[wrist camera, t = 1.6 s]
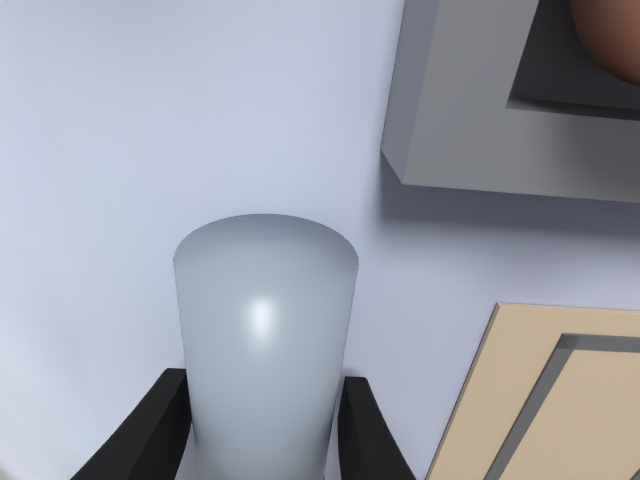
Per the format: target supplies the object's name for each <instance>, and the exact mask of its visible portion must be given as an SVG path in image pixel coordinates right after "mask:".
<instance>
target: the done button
mask: <svg viewBox="0 0 640 480" xmlns="http://www.w3.org/2000/svg"><path fill="white" fill-rule="evenodd" d="M569 2H570V8H571V13H572V18H573V21H574V24H575V27H576V30H577V33H578V35H579V37H580V39H581V41H582V43H583V45H584V47H585V49H586V50H587V52H588V53H589V54H590V55H591V57H592V58H593V59H594V61H595V62H596V63H597V64H598V65H599V66H601V67H602V68H603V69H604V70H605V71H606V72H607V73H609V74H611V75H612V76H614V77H616V78H617V79H619V80H621V81H623V82H626V83H629V84H632V85H634V86H639V87H640V0H569Z"/></svg>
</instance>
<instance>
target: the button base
mask: <svg viewBox="0 0 640 480" xmlns="http://www.w3.org/2000/svg"><path fill="white" fill-rule="evenodd" d="M380 149H381V151H382V152H383V154H384V156H385V157H386V159H387V161H388V162H389V164H390V165H391V167H392V169H393V170H394V172H395V174H396V175H397V177H398V179H399V180H400V182H401V183H402V184H405V185H417V186H430V187H443V188H455V189H468V190H480V191H493V192H506V193H518V194H531V195H543V196H556V197H568V198H581V199H594V200H606V201H619V202H631V203H640V87H639V86H634V85H632V84H629V83H626V82H623V81H621V80H619V79H617V78H616V77H614V76H612V75H611V74H609V73H607V72H606V71H605V70H604V69H603V68H602V67H601V66H599V65H598V64H597V63H596V62H595V61H594V59H593V58H592V57H591V55H590V54H589V53H588V52H587V50H586V49H585V47H584V45H583V43H582V41H581V39H580V37H579V35H578V33H577V30H576V27H575V24H574V21H573V18H572V13H571V8H570V2H569V0H406V1H405V7H404V13H403V19H402V25H401V31H400V36H399V42H398V48H397V54H396V60H395V66H394V72H393V78H392V84H391V89H390V95H389V101H388V107H387V113H386V119H385V125H384V131H383V137H382V142H381V148H380Z"/></svg>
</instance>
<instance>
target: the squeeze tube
mask: <svg viewBox="0 0 640 480" xmlns="http://www.w3.org/2000/svg"><path fill="white" fill-rule="evenodd" d="M173 262H174V273H175V281H176V290H177V298H178V306H179V314H180V323H181V331H182V339H183V347H184V356H185V364H186V372H187V380H188V389H189V397H190V405H191V413H192V422H193V430H194V438H195V446H196V455H197V463H198V471H199V479H200V480H324V469H325V463H326V457H327V451H328V445H329V439H330V433H331V427H332V421H333V415H334V409H335V403H336V397H337V391H338V385H339V379H340V373H341V367H342V361H343V355H344V349H345V343H346V337H347V331H348V325H349V319H350V313H351V307H352V301H353V295H354V289H355V283H356V277H357V271H358V265H359V263H358V256H357V253H356V251H355V249H354V248H353V246H352V245H351V244H350V243H349V241H348V240H346V239H345V238H344V237H343V236H342V235H340V234H339V233H338V232H336V231H334V230H332V229H331V228H329V227H327V226H324V225H322V224H319V223H317V222H314V221H311V220H307V219H303V218H299V217H294V216H287V215H278V214H250V215H241V216H235V217H229V218H225V219H221V220H218V221H215V222H212V223H209V224H207V225H205V226H202V227H200V228H199V229H197V230H195V231H193V232H192V233H191V234H189V235H188V236H187V237H186V238H185V239H183V240H182V242H181V243H180V244H179V246H178V247H177V249H176V251H175V254H174V258H173Z"/></svg>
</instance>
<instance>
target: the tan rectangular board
mask: <svg viewBox="0 0 640 480" xmlns="http://www.w3.org/2000/svg"><path fill="white" fill-rule="evenodd" d="M426 480H640V311H625V310H609V309H592V308H576V307H559V306H543V305H526V304H510V303H497V305H496V307H495V310H494V312H493V315H492V317H491V319H490V322H489V324H488V327H487V329H486V332H485V334H484V337H483V339H482V342H481V344H480V347H479V349H478V351H477V354H476V356H475V359H474V361H473V364H472V366H471V369H470V371H469V374H468V376H467V379H466V381H465V383H464V386H463V388H462V391H461V393H460V396H459V398H458V401H457V403H456V406H455V408H454V411H453V413H452V415H451V418H450V420H449V423H448V425H447V428H446V430H445V433H444V435H443V438H442V440H441V443H440V445H439V448H438V450H437V452H436V455H435V457H434V460H433V462H432V465H431V467H430V470H429V472H428V475H427V477H426Z"/></svg>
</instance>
